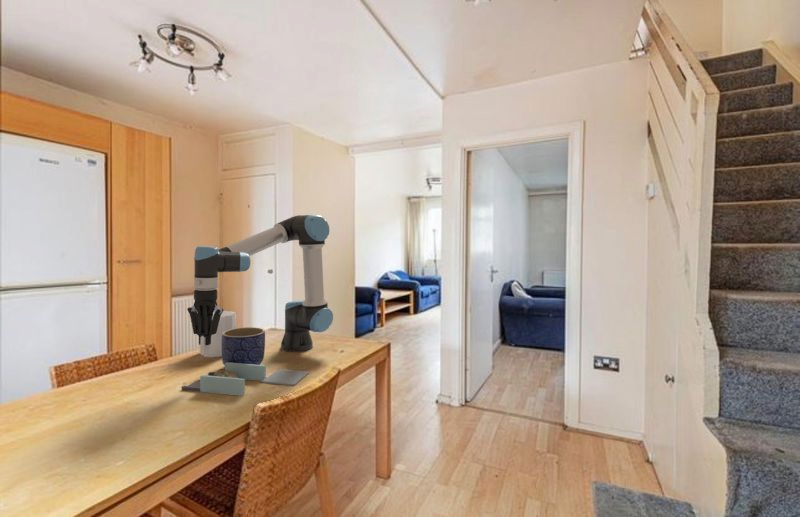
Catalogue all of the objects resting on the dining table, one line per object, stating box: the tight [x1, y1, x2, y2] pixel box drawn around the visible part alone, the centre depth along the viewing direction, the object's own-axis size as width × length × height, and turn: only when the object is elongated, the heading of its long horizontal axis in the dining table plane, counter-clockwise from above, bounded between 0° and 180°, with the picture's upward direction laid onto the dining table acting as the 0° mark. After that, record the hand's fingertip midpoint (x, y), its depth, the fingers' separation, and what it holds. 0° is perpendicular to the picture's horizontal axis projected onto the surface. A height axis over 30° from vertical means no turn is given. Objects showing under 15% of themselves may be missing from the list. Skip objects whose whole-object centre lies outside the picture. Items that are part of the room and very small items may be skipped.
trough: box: [181, 362, 267, 397], centre depth 134 cm, size 15×23×6 cm, turn 81°
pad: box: [261, 368, 310, 387], centre depth 143 cm, size 13×13×1 cm
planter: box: [221, 326, 266, 367], centre depth 153 cm, size 16×17×15 cm
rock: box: [214, 369, 237, 378], centre depth 134 cm, size 8×11×4 cm
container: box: [201, 310, 237, 358], centre depth 172 cm, size 14×14×18 cm
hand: (204, 353), depth 135 cm, fingers closed
